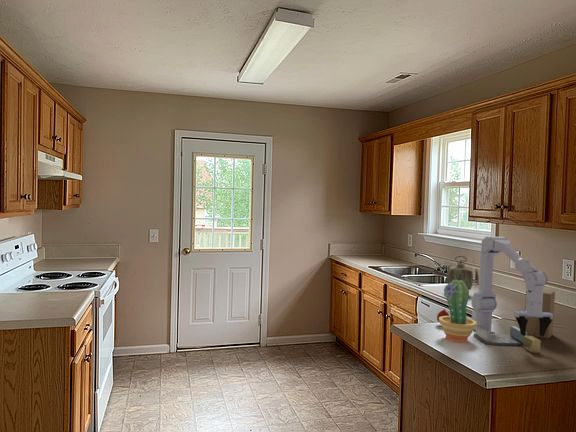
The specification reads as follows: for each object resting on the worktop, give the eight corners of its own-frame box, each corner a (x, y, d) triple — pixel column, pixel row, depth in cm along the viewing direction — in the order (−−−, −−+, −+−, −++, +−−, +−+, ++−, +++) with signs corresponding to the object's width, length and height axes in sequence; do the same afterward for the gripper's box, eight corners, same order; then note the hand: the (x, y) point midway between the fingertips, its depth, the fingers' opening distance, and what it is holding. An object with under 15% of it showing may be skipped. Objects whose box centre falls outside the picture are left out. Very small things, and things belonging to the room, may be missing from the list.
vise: (473, 335, 198) (474, 324, 198) (514, 337, 198) (514, 326, 198) (486, 344, 186) (486, 332, 186) (529, 346, 186) (530, 334, 186)
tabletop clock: (469, 294, 293) (471, 255, 292) (472, 297, 284) (475, 257, 283) (445, 292, 295) (448, 254, 294) (448, 295, 286) (451, 256, 285)
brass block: (522, 347, 184) (523, 335, 184) (531, 348, 184) (532, 335, 184) (531, 352, 178) (531, 340, 178) (539, 353, 178) (540, 340, 178)
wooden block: (528, 330, 212) (530, 287, 211) (552, 334, 205) (555, 291, 205) (523, 334, 204) (525, 290, 203) (548, 339, 198) (551, 293, 197)
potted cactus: (434, 332, 201) (437, 276, 200) (470, 334, 199) (473, 278, 198) (441, 343, 186) (445, 282, 185) (481, 346, 184) (484, 284, 183)
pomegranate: (434, 325, 213) (435, 308, 213) (440, 323, 217) (441, 306, 217) (446, 328, 209) (447, 310, 209) (451, 326, 213) (452, 309, 213)
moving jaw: (509, 335, 197) (510, 326, 197) (514, 335, 197) (515, 326, 197) (522, 342, 187) (522, 332, 187) (527, 342, 187) (527, 332, 187)
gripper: (521, 303, 177) (519, 337, 177) (558, 304, 177) (556, 339, 177) (512, 299, 184) (510, 332, 184) (547, 300, 184) (545, 333, 184)
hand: (532, 335), depth 181 cm, fingers open, 7 cm apart
